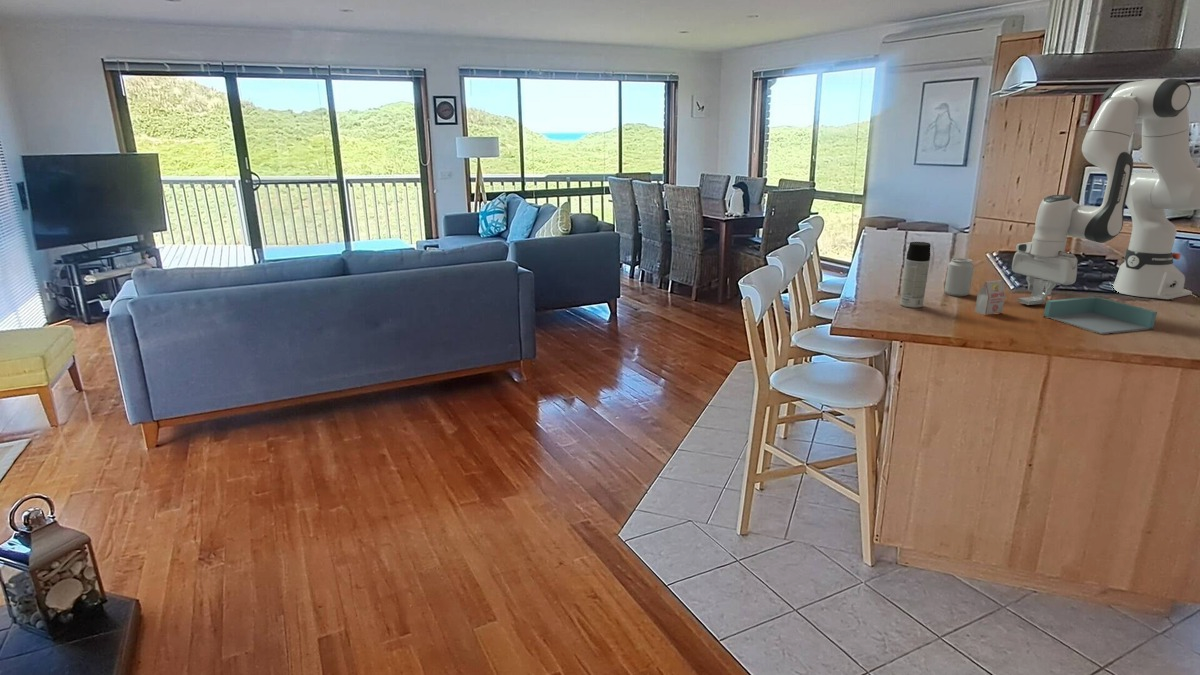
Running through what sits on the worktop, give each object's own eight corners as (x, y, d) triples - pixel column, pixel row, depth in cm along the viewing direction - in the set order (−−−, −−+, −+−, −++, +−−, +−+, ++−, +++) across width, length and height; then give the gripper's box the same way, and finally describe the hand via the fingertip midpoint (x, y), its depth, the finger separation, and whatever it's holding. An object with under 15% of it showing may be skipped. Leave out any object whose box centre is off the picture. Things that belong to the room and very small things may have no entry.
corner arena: (1091, 312, 197) (1095, 296, 195) (1152, 329, 180) (1157, 311, 179) (1043, 317, 193) (1046, 300, 191) (1100, 334, 176) (1105, 317, 175)
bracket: (1033, 300, 208) (1037, 278, 206) (1044, 303, 204) (1048, 281, 202) (1017, 301, 207) (1021, 280, 204) (1028, 304, 203) (1032, 283, 201)
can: (972, 297, 215) (978, 261, 212) (947, 296, 217) (953, 261, 213) (965, 292, 222) (970, 257, 219) (941, 291, 224) (946, 256, 220)
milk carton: (974, 312, 198) (979, 280, 195) (991, 310, 200) (997, 278, 197) (984, 316, 195) (990, 283, 192) (1001, 313, 197) (1007, 281, 194)
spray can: (922, 304, 209) (931, 242, 202) (923, 309, 203) (932, 245, 197) (900, 302, 211) (908, 240, 205) (899, 307, 205) (908, 244, 199)
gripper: (1087, 254, 192) (1077, 299, 196) (1028, 242, 211) (1020, 284, 215) (1069, 255, 190) (1060, 301, 195) (1012, 244, 209) (1004, 285, 214)
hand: (1038, 292), depth 205 cm, fingers closed on bracket, 4 cm apart
